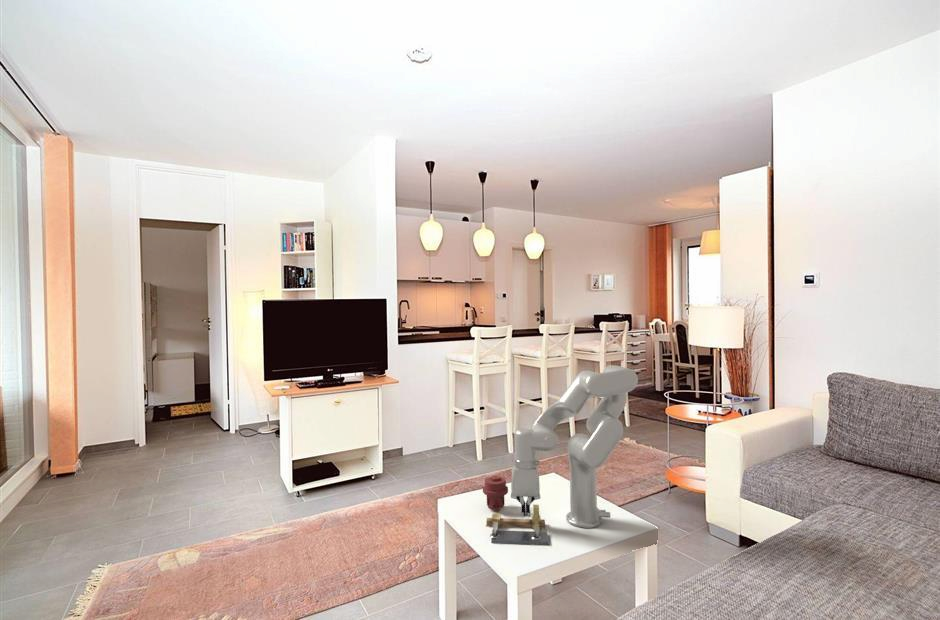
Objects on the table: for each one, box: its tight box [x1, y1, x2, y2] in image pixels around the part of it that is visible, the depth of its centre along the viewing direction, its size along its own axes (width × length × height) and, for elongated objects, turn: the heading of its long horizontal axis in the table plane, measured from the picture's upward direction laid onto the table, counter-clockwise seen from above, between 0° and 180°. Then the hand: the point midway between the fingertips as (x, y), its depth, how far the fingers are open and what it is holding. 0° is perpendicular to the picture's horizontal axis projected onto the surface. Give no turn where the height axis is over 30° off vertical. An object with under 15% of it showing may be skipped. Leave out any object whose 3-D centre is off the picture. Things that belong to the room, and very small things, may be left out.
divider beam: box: [485, 512, 546, 536], centre depth 161 cm, size 21×13×3 cm, turn 84°
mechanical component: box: [482, 475, 509, 513], centre depth 180 cm, size 12×10×10 cm
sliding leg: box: [531, 504, 542, 537], centre depth 160 cm, size 3×13×7 cm, turn 174°
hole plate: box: [489, 529, 550, 546], centre depth 156 cm, size 20×7×1 cm, turn 84°
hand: (525, 514), depth 165 cm, fingers closed
